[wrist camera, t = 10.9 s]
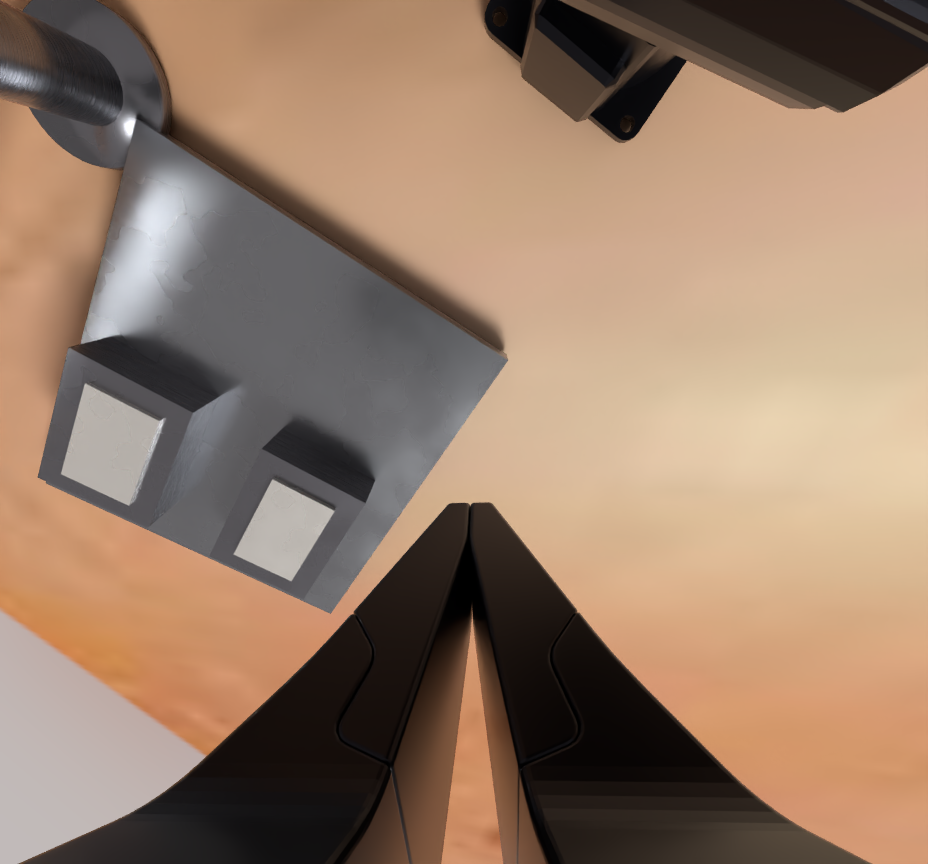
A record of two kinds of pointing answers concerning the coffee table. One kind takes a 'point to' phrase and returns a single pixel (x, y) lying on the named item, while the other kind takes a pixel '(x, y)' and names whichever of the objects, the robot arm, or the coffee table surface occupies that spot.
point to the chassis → (253, 381)
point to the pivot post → (82, 76)
